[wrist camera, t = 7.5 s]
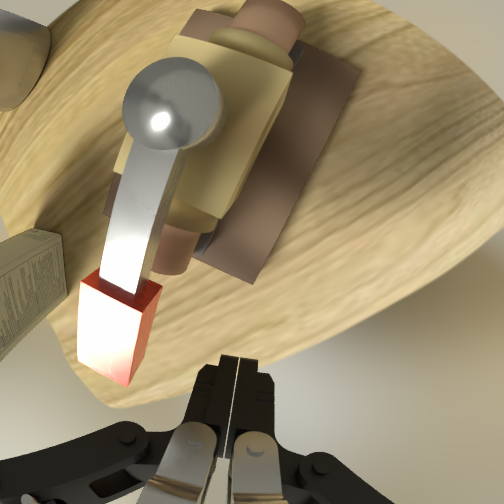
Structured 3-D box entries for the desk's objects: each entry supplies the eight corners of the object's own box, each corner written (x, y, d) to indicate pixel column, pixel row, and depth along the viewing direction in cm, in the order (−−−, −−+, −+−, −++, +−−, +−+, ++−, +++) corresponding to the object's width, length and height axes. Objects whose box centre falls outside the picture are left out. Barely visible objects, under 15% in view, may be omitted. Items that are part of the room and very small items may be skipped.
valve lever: (169, 69, 7) (146, 50, 5) (240, 90, 8) (233, 70, 6) (97, 333, 11) (76, 359, 9) (145, 358, 11) (129, 388, 9)
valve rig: (253, 275, 19) (245, 353, 11) (113, 209, 18) (35, 242, 10) (353, 77, 14) (410, 29, 6) (201, 18, 13) (164, -50, 5)
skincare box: (32, 226, 18) (-71, 277, 7) (64, 234, 18) (-50, 297, 7) (39, 288, 20) (-43, 354, 9) (70, 300, 20) (-15, 381, 9)
